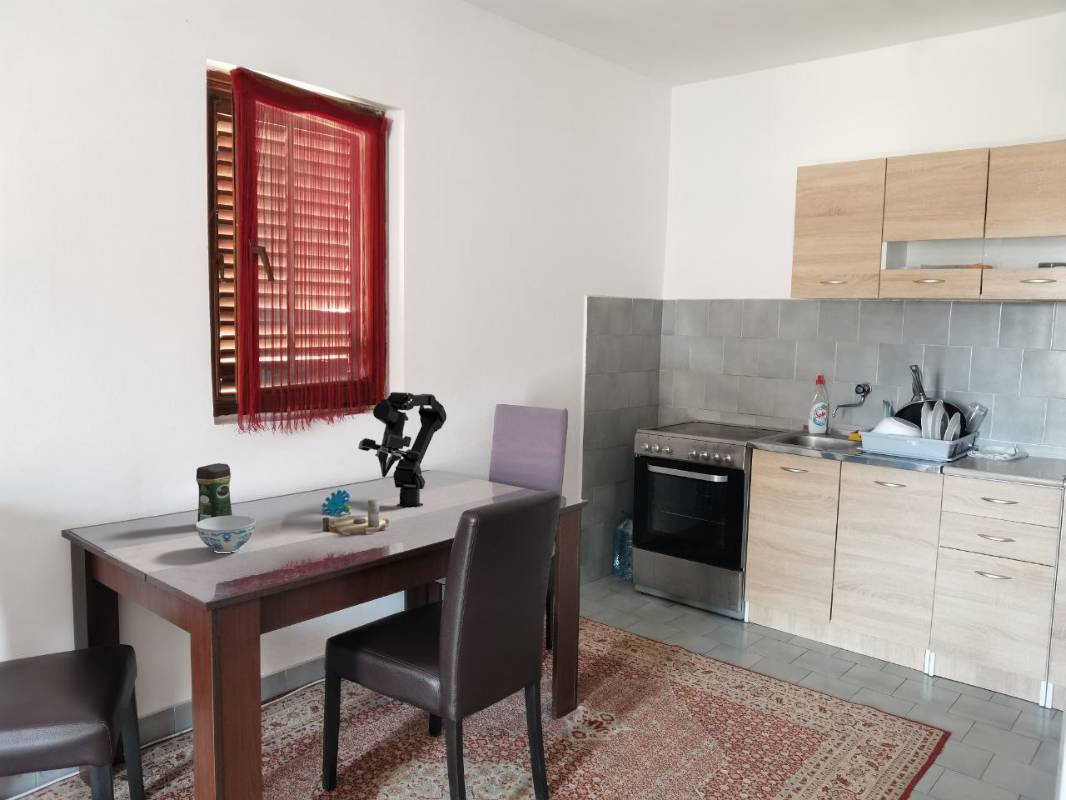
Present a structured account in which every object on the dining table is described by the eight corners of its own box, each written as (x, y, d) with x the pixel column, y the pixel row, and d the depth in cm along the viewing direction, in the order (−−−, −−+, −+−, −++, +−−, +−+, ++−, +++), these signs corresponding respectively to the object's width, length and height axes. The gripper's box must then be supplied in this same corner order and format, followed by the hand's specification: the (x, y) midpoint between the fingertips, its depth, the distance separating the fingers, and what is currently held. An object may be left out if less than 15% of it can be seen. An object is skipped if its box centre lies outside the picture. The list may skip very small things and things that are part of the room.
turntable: (318, 528, 240) (318, 498, 239) (362, 517, 253) (362, 489, 252) (357, 538, 230) (356, 506, 229) (400, 526, 243) (400, 496, 242)
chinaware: (237, 539, 228) (236, 512, 228) (267, 550, 219) (266, 521, 218) (185, 551, 217) (184, 522, 216) (215, 562, 207) (214, 532, 207)
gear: (314, 509, 259) (335, 484, 263) (324, 519, 262) (344, 495, 266) (335, 519, 252) (356, 494, 256) (345, 530, 256) (365, 505, 260)
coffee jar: (217, 520, 249) (216, 460, 247) (237, 523, 246) (235, 462, 244) (192, 527, 240) (190, 465, 239) (212, 530, 237) (210, 468, 235)
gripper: (372, 417, 249) (360, 466, 244) (429, 432, 256) (419, 480, 251) (363, 424, 259) (352, 471, 254) (418, 438, 265) (409, 485, 261)
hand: (383, 476), depth 255 cm, fingers closed
